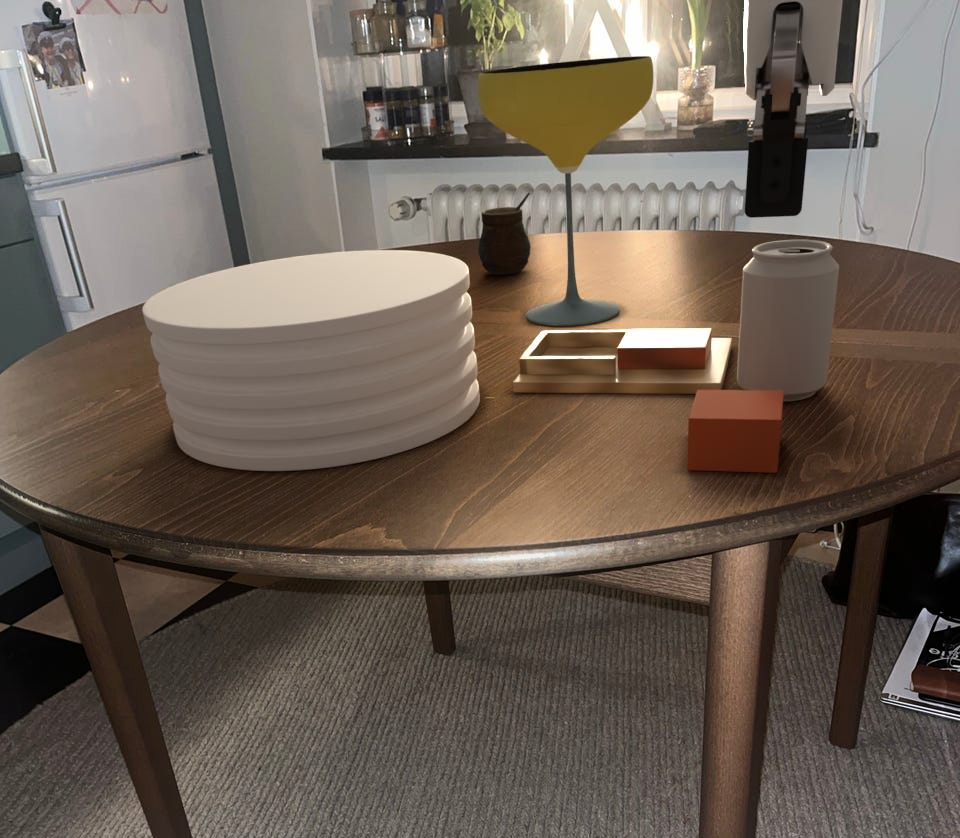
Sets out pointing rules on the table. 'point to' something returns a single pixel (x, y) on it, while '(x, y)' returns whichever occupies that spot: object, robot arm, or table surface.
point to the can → (787, 317)
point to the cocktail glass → (567, 136)
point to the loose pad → (735, 430)
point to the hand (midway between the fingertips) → (774, 202)
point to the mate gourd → (504, 240)
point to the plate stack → (316, 358)
